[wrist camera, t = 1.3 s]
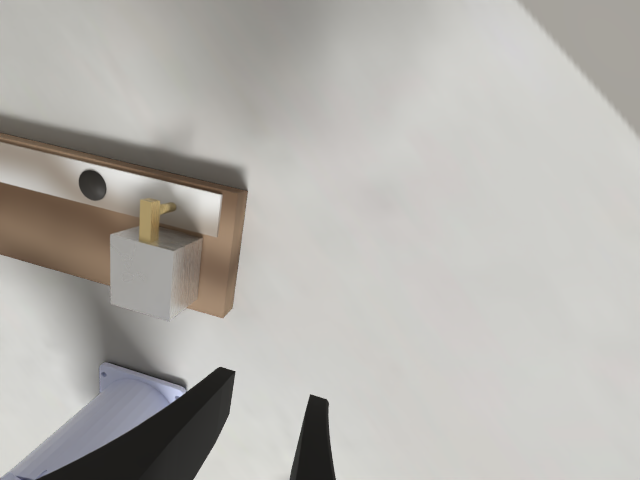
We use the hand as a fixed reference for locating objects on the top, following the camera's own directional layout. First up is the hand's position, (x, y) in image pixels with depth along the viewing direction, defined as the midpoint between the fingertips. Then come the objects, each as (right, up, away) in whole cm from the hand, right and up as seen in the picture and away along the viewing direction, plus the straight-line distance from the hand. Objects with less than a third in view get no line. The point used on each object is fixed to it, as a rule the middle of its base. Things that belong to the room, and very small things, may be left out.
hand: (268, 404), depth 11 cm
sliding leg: (-8, +6, +9) cm, 13 cm away
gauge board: (-16, +8, +12) cm, 22 cm away
